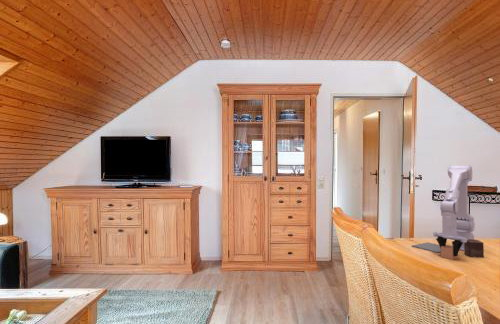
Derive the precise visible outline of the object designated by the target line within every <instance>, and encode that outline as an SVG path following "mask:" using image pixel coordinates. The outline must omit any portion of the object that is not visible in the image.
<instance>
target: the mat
mask: <svg viewBox="0 0 500 324" xmlns="http://www.w3.org/2000/svg"><path fill="white" fill-rule="evenodd" d="M412 246H413V247H412ZM411 247H412V248H416V249H420V250H424V251H428V252H432V253H436V254H441V248H440V245H439V244H436V243H432V242H424V243H423V242H422V243H418V244H413V245H411Z"/></svg>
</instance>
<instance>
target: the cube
mask: <svg viewBox="0 0 500 324" xmlns="http://www.w3.org/2000/svg"><path fill="white" fill-rule="evenodd" d="M440 257H441V258H445V259H449V260H455V259H459V255H458V256H454V254H453V245H450V244H446V245H445V246H441V252H440Z"/></svg>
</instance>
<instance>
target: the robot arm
mask: <svg viewBox="0 0 500 324" xmlns="http://www.w3.org/2000/svg"><path fill="white" fill-rule="evenodd" d="M447 176H448V178H450V184H449V188H447V189H446V190H445V193H444V198H443V201H441V202H440V205H439V206H440V215H441V216H442V219H441V220H442V221H441V223H442V225H441V226H442V229H441V230H442V232H437V231H434V232H433V233H432V234H433V237H437V238H435V240H436V242H437V243H438V245H440V248H441V246H445V245H447V242H448V240H450V241H451V240H452V241H451V243H452V244H451V245H452V246H453V254H454V256H458V257H459V252H460V250H461V251H464V243H465V242H467V239H472V240H475V235H474V233H473V232H474V231H475V225H476V224H475V217H474V216H473V215H471V213H468V184H469V182H472V180H473V167H472V166H471V165H470V164H469V165H467V164H466V165H458V164H457V165H451V164H449V166H448V167H447Z"/></svg>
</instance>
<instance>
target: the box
mask: <svg viewBox="0 0 500 324" xmlns="http://www.w3.org/2000/svg"><path fill="white" fill-rule="evenodd" d="M484 245H485V244H484V242H483V241H481V240H479V239H474V240H472V239H467V242H465V243H464V250H463V251H464V255H466V256H468V257H470V258H484V255H485V253H484V251H485V249H484V247H485V246H484Z"/></svg>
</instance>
